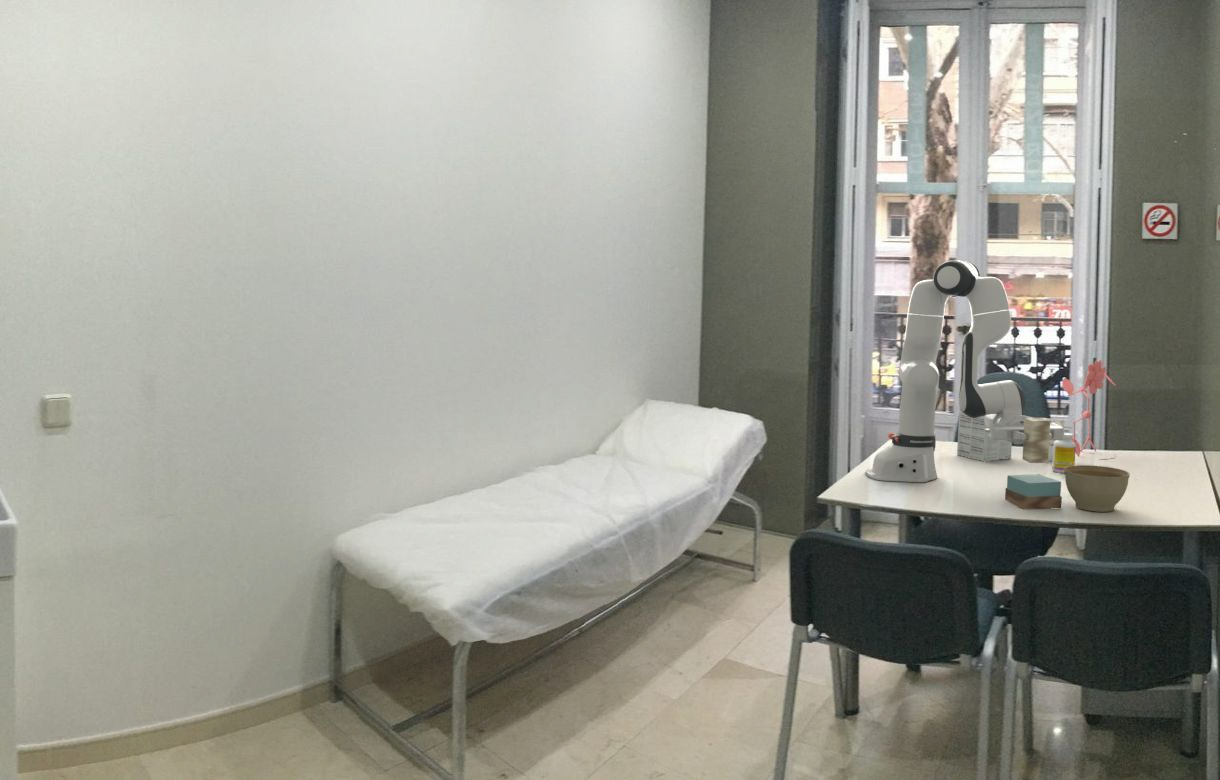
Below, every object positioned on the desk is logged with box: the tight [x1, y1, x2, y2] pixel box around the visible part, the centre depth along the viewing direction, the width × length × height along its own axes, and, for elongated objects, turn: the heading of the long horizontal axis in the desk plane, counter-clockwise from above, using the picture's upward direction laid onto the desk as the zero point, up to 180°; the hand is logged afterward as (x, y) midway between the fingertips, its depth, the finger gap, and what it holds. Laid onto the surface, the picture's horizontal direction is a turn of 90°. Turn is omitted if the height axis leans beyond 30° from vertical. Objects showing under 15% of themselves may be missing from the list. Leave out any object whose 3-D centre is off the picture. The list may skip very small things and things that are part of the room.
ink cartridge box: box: [1043, 417, 1065, 462], centre depth 316 cm, size 9×5×15 cm, turn 58°
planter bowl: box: [1064, 464, 1131, 513], centre depth 251 cm, size 16×16×11 cm
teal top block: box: [1006, 473, 1062, 497], centre depth 255 cm, size 10×10×4 cm
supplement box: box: [956, 408, 1013, 462], centre depth 322 cm, size 13×13×18 cm
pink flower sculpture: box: [1061, 359, 1117, 461], centre depth 322 cm, size 15×26×35 cm, turn 121°
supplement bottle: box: [1051, 432, 1076, 474], centre depth 298 cm, size 7×7×13 cm
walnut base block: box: [1004, 487, 1063, 510], centre depth 256 cm, size 11×11×4 cm
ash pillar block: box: [1021, 417, 1050, 464], centre depth 254 cm, size 5×5×12 cm
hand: (1037, 437), depth 253 cm, fingers closed on ash pillar block, 5 cm apart
